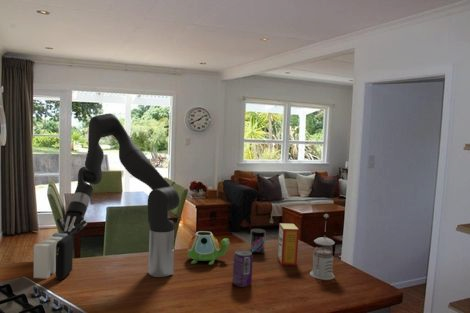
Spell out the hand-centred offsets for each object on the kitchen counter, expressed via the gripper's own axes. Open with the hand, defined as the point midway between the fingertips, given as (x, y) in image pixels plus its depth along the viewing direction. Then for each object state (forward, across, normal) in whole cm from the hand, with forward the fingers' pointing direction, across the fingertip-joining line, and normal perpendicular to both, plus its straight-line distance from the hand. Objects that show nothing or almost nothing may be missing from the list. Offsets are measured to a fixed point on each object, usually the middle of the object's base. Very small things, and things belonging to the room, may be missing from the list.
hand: (65, 241), depth 153 cm
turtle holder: (-1, +57, +12) cm, 59 cm away
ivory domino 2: (+12, 0, 0) cm, 12 cm away
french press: (+6, +104, +5) cm, 105 cm away
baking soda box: (-4, +92, +15) cm, 94 cm away
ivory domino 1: (+18, 0, -7) cm, 19 cm away
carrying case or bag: (+18, +8, -6) cm, 20 cm away
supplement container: (-10, +80, +22) cm, 83 cm away
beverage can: (+15, +73, -4) cm, 74 cm away
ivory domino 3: (+15, 0, -4) cm, 15 cm away
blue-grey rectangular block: (+8, 0, +3) cm, 9 cm away
